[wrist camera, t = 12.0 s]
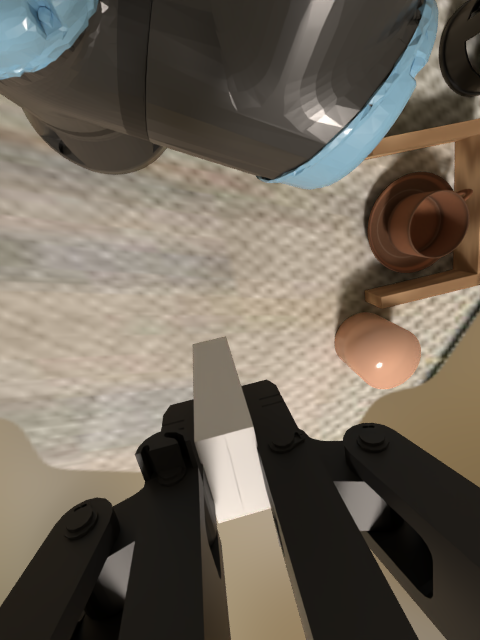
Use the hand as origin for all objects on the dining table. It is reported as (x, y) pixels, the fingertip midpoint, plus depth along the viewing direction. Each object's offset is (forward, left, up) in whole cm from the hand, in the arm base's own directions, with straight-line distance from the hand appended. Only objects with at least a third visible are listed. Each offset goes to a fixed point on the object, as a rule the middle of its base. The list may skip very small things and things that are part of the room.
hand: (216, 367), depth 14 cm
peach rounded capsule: (+14, +20, -27) cm, 36 cm away
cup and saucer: (0, +27, -27) cm, 38 cm away
